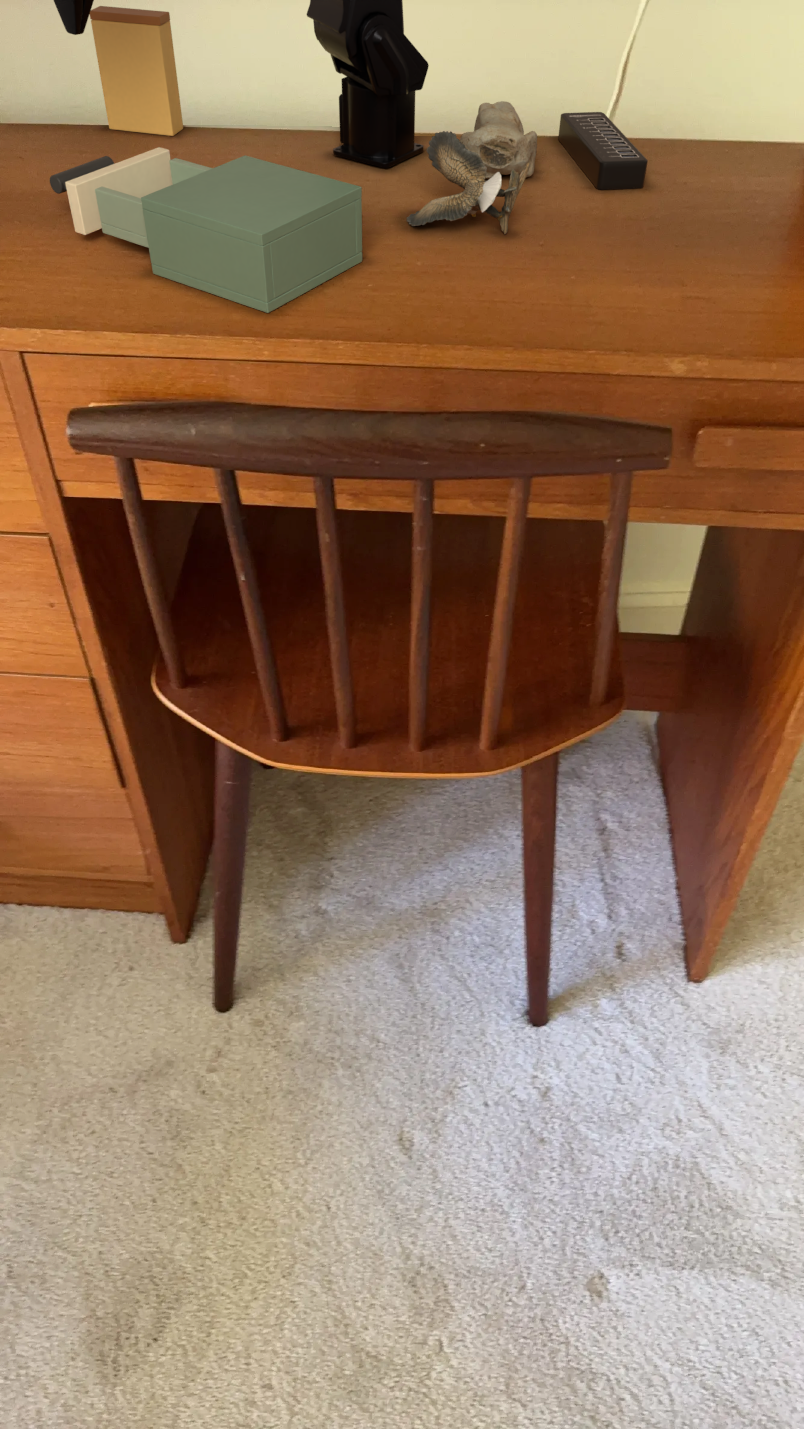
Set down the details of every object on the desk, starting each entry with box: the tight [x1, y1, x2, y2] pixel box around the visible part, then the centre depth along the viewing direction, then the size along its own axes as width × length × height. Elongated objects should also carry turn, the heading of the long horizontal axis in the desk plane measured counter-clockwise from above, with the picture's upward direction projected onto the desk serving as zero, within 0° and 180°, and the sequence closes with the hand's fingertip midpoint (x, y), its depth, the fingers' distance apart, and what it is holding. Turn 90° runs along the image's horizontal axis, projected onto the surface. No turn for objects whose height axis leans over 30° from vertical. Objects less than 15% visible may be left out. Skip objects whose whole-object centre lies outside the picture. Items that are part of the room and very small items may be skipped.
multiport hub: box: [557, 111, 649, 191], centre depth 98 cm, size 4×14×2 cm, turn 9°
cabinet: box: [141, 155, 363, 314], centre depth 79 cm, size 12×12×6 cm
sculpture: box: [459, 100, 538, 180], centre depth 97 cm, size 7×5×15 cm
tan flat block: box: [89, 5, 184, 137], centre depth 101 cm, size 7×2×10 cm, turn 74°
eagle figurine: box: [406, 130, 530, 235], centre depth 86 cm, size 8×7×9 cm
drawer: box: [49, 146, 214, 249], centre depth 84 cm, size 15×10×4 cm
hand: (75, 33), depth 82 cm, fingers closed
